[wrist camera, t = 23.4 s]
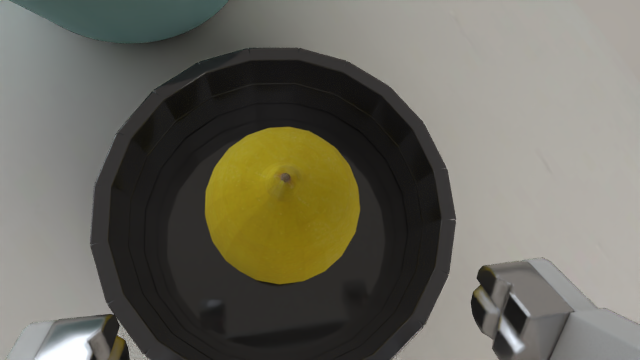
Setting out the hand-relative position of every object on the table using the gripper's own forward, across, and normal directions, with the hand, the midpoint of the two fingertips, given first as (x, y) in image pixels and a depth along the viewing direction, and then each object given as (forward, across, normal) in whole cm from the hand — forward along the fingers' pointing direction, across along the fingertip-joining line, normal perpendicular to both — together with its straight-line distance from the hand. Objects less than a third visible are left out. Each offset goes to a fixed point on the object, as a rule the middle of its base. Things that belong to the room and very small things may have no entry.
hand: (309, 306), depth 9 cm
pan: (+9, 0, +4) cm, 10 cm away
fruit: (+9, 0, +4) cm, 10 cm away
